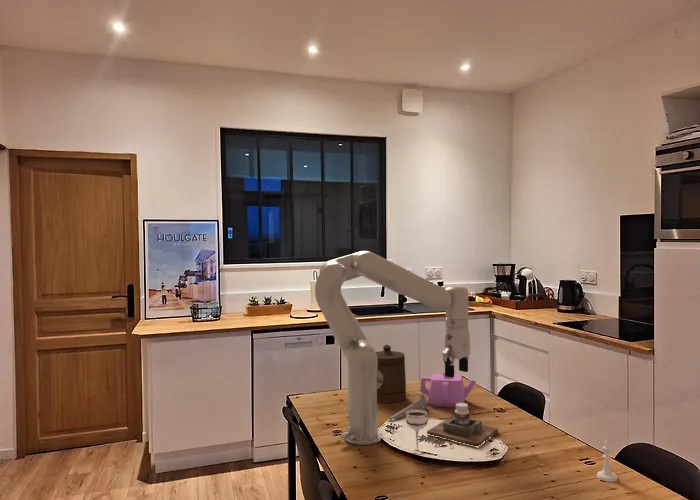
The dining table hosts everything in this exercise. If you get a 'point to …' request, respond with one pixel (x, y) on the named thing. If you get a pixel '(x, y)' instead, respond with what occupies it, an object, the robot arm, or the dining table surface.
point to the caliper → (412, 407)
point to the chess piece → (606, 466)
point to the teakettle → (445, 389)
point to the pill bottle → (462, 415)
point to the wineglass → (416, 420)
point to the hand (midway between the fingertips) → (456, 373)
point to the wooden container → (390, 376)
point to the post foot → (464, 431)
